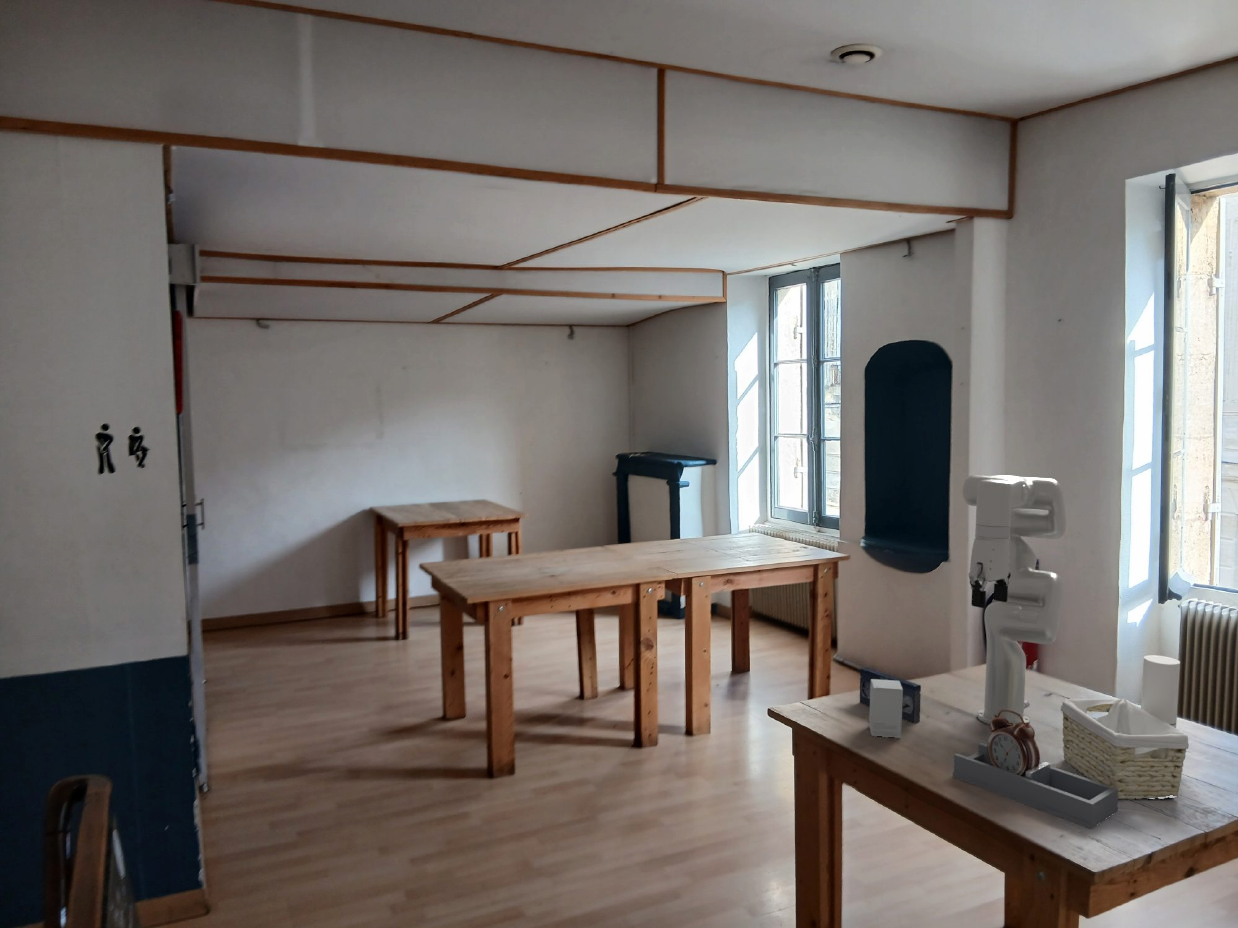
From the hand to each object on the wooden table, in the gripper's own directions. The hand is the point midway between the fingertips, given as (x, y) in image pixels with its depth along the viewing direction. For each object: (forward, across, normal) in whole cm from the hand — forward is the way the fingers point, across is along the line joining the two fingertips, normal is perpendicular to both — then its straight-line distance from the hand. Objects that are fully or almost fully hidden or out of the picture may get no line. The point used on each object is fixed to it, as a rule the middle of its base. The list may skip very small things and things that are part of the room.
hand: (989, 603), depth 209 cm
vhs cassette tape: (+37, -5, -30) cm, 48 cm away
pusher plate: (+35, +12, +19) cm, 42 cm away
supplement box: (+36, +8, -22) cm, 43 cm away
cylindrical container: (+36, -26, +28) cm, 53 cm away
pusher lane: (+36, +12, +18) cm, 42 cm away
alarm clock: (+35, +12, +14) cm, 40 cm away
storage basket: (+37, -11, +26) cm, 46 cm away
